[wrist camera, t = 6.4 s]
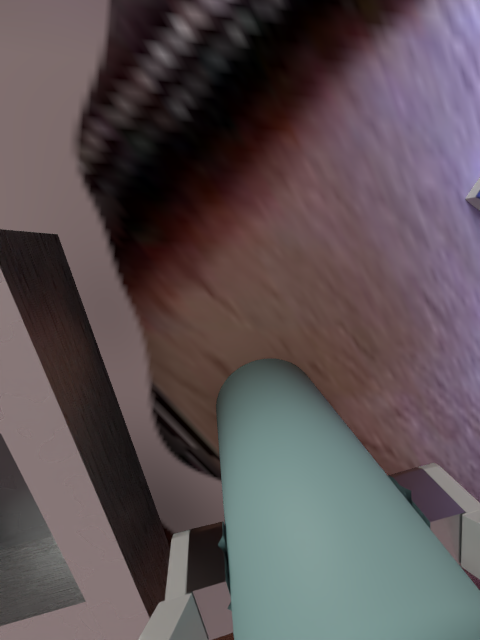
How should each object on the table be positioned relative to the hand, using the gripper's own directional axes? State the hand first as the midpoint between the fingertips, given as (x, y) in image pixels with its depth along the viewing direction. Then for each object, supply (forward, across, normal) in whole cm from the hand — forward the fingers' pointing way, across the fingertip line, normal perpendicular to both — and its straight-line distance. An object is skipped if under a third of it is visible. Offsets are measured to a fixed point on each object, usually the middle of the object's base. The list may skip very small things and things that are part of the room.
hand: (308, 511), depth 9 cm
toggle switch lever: (+6, 0, 0) cm, 6 cm away
